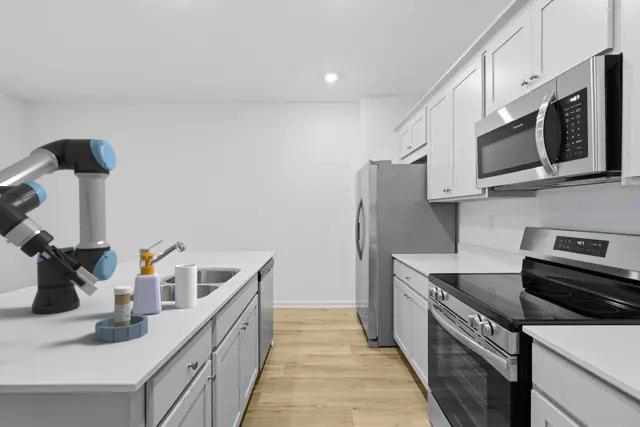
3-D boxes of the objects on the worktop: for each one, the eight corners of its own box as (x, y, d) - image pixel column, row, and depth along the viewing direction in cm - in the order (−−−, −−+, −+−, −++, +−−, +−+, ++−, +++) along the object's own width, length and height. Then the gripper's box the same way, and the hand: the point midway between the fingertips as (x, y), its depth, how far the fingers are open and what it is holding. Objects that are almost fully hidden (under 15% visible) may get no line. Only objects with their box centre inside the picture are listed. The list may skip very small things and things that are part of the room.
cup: (184, 309, 144) (184, 267, 144) (170, 306, 148) (170, 265, 148) (201, 305, 151) (201, 265, 151) (187, 302, 155) (187, 263, 155)
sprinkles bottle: (123, 327, 118) (123, 285, 118) (134, 329, 116) (134, 286, 116) (110, 331, 114) (110, 287, 114) (120, 334, 112) (120, 289, 112)
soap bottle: (130, 319, 130) (130, 255, 130) (134, 309, 143) (134, 251, 143) (160, 317, 134) (160, 254, 134) (161, 307, 147) (161, 250, 146)
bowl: (87, 335, 114) (87, 322, 114) (133, 324, 125) (133, 312, 125) (109, 345, 106) (109, 331, 105) (156, 332, 117) (156, 319, 117)
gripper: (26, 244, 113) (85, 289, 121) (8, 253, 91) (81, 307, 99) (48, 226, 116) (104, 271, 123) (35, 231, 94) (104, 285, 102)
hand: (94, 287), depth 111 cm, fingers open, 13 cm apart
